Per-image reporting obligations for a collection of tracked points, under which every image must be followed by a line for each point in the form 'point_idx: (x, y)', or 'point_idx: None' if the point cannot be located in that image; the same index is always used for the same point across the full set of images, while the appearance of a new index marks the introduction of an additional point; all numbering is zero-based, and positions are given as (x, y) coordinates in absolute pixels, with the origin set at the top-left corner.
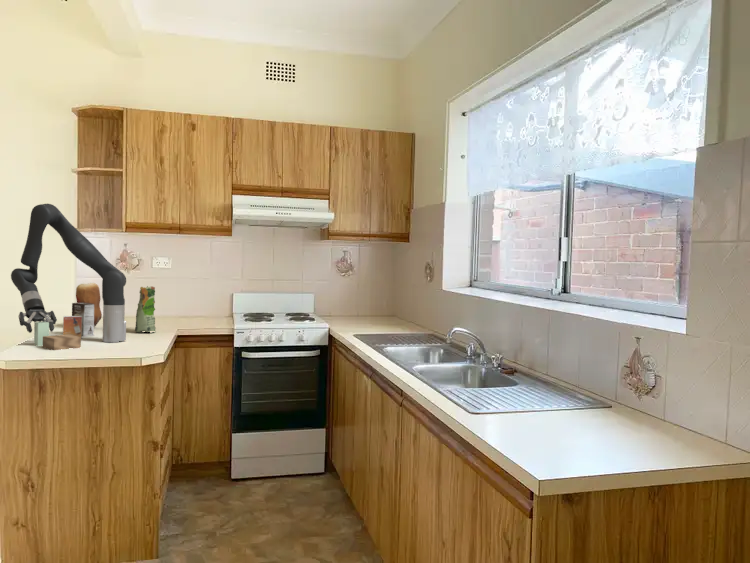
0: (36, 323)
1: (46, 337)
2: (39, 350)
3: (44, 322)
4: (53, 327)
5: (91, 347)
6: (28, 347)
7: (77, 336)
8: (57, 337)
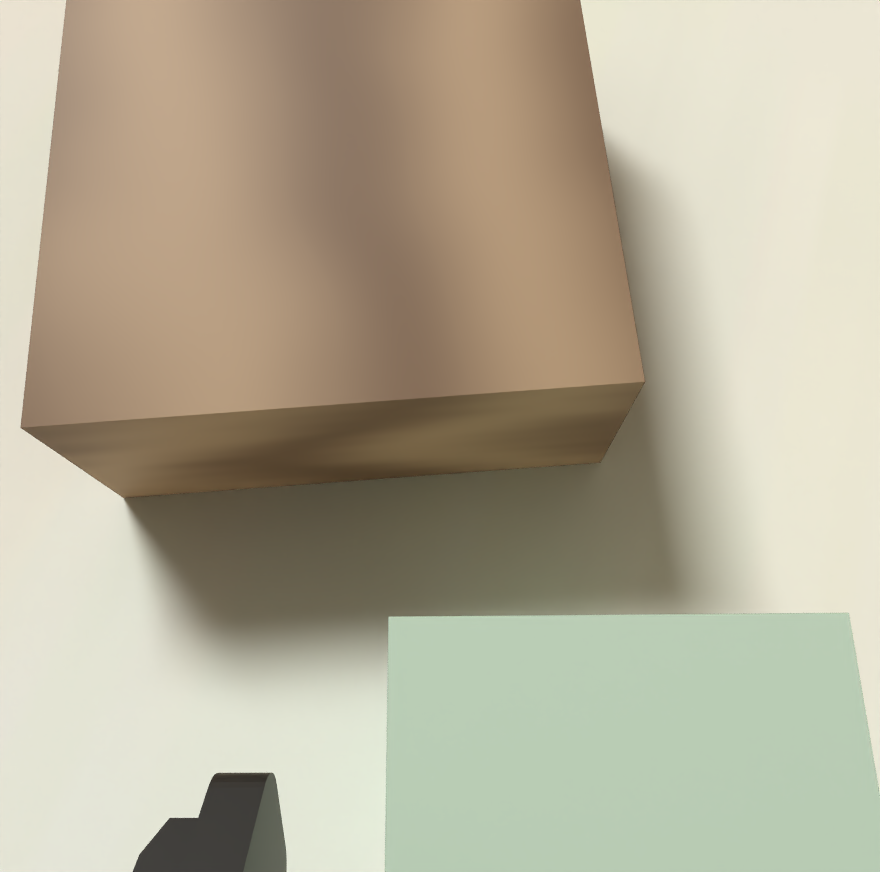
0: (869, 825)
1: (615, 209)
2: (729, 161)
3: (538, 766)
4: (171, 852)
5: (18, 65)
6: (821, 577)
7: (76, 45)
8: (443, 81)
